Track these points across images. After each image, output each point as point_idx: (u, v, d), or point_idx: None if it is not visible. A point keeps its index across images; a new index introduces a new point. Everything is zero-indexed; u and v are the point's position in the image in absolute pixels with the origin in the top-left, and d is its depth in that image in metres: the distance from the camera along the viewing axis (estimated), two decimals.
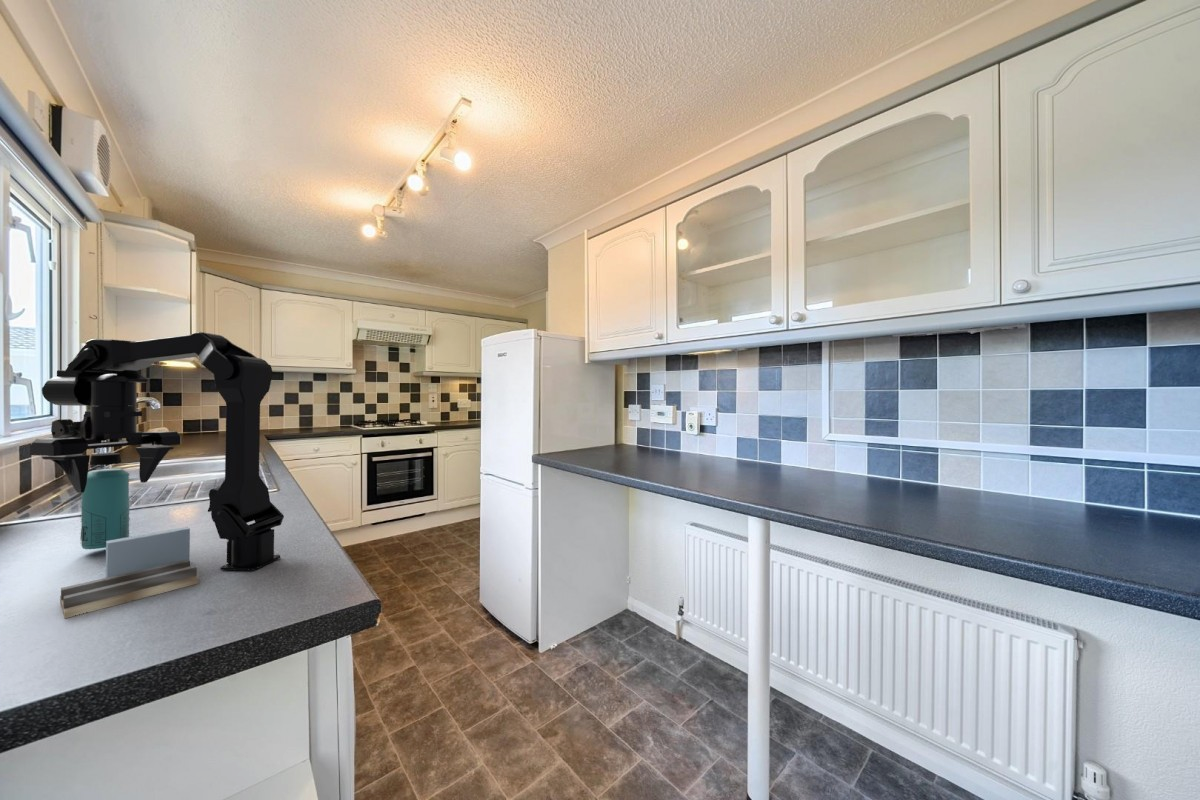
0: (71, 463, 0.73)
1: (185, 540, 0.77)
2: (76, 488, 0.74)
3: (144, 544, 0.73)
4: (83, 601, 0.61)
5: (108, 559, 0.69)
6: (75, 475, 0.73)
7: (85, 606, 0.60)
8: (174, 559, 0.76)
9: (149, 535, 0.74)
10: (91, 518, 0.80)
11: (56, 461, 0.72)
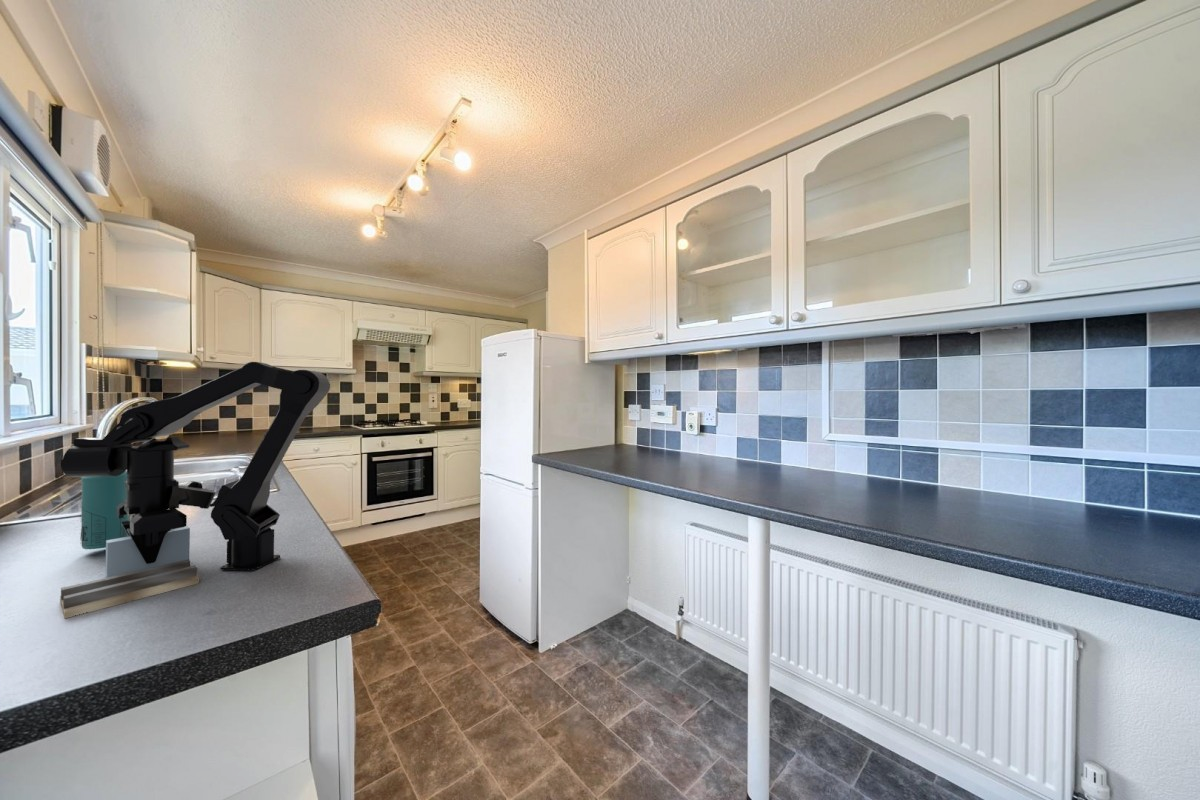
0: None
1: (185, 540, 0.77)
2: None
3: None
4: (83, 601, 0.61)
5: (108, 558, 0.69)
6: None
7: (85, 606, 0.60)
8: (174, 558, 0.76)
9: None
10: (91, 518, 0.80)
11: None
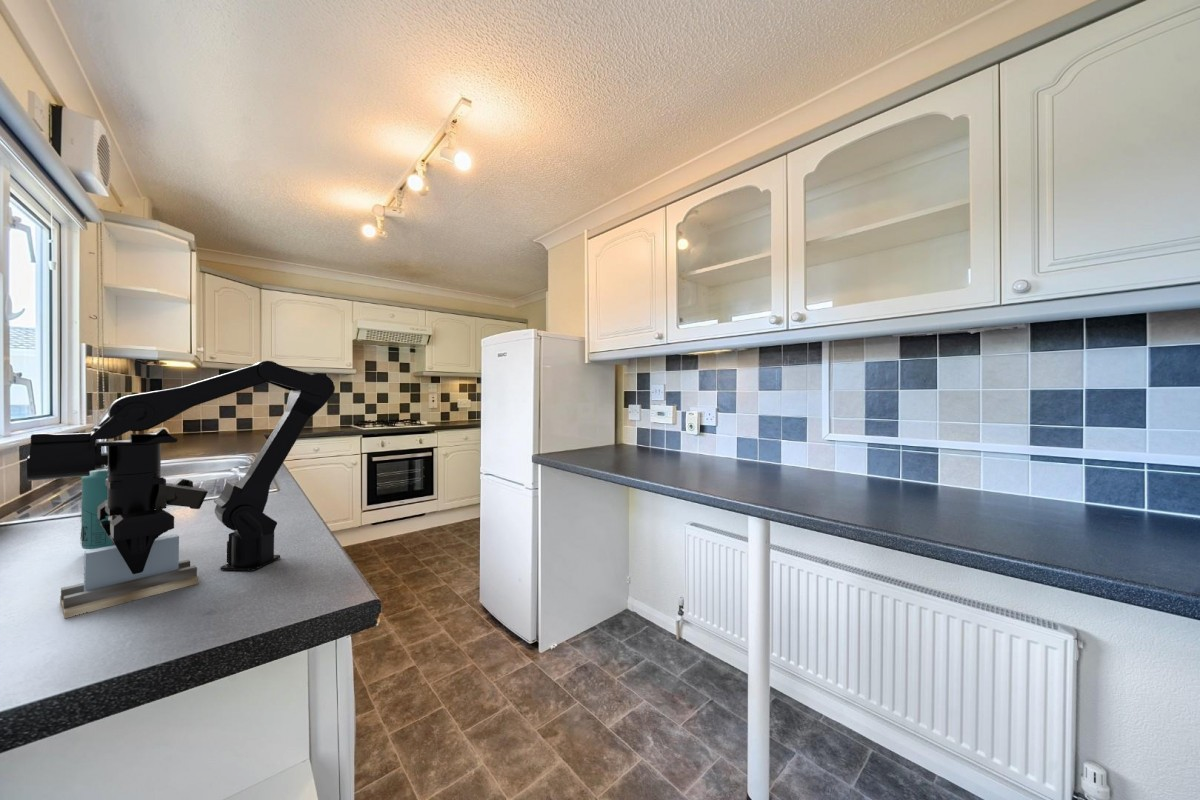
0: None
1: (174, 549, 0.70)
2: None
3: None
4: (83, 601, 0.61)
5: (86, 571, 0.62)
6: None
7: (85, 606, 0.60)
8: (161, 570, 0.69)
9: None
10: (91, 518, 0.80)
11: None
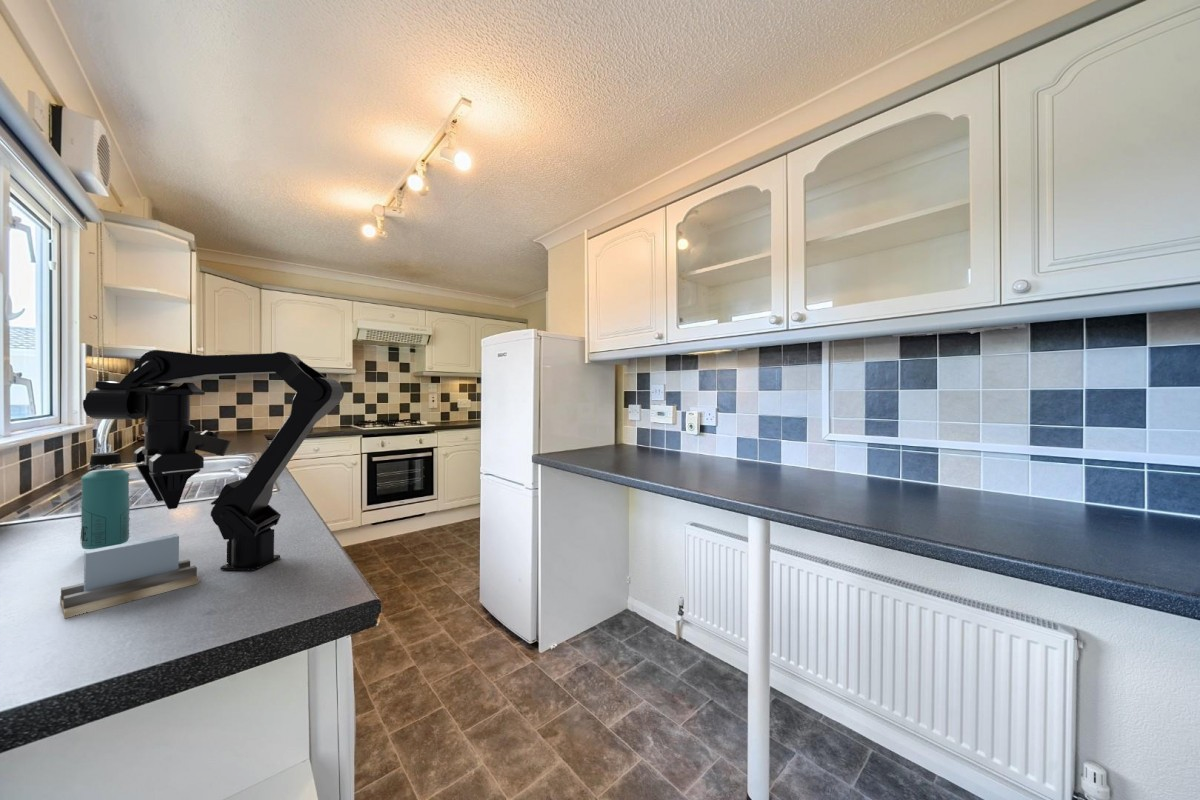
0: None
1: (174, 549, 0.70)
2: None
3: (127, 553, 0.66)
4: (83, 601, 0.61)
5: (86, 571, 0.62)
6: None
7: (85, 606, 0.60)
8: (161, 570, 0.69)
9: (133, 544, 0.66)
10: (91, 518, 0.80)
11: None
